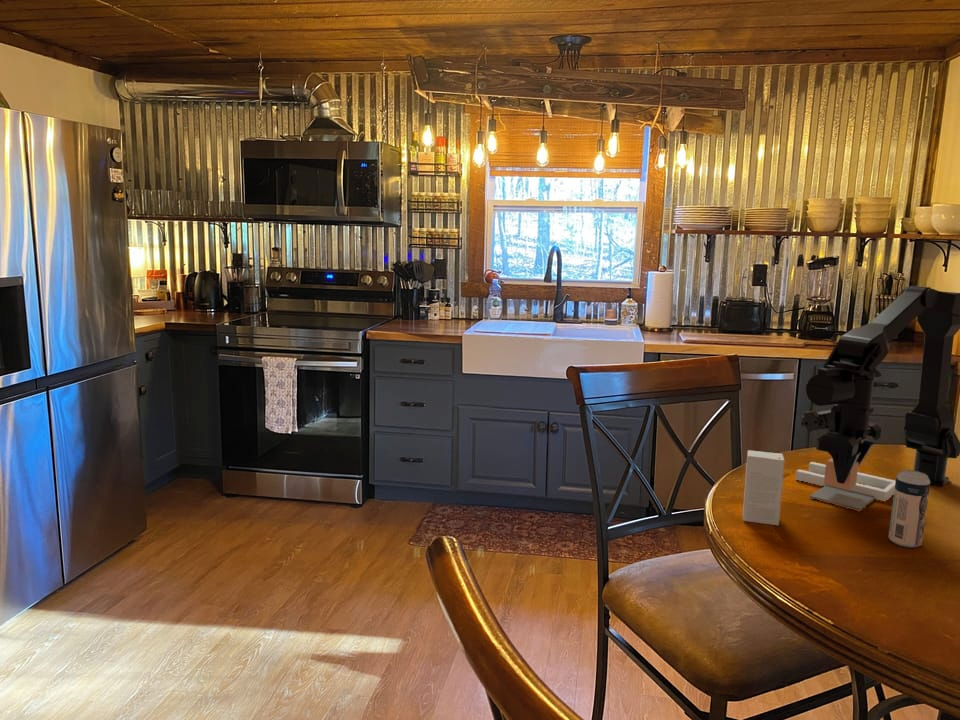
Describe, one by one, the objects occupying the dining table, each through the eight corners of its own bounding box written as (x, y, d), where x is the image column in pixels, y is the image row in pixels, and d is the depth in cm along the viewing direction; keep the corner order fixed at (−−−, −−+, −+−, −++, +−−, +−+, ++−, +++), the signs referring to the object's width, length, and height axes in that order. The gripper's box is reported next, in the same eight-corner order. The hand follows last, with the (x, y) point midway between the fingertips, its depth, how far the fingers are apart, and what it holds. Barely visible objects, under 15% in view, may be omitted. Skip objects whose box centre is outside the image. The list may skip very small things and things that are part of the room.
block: (831, 478, 141) (834, 456, 140) (856, 484, 138) (858, 461, 137) (823, 483, 138) (826, 461, 137) (848, 489, 135) (851, 467, 134)
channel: (810, 470, 155) (811, 461, 154) (897, 490, 143) (898, 481, 143) (795, 480, 148) (796, 470, 148) (884, 502, 137) (886, 492, 136)
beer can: (926, 550, 116) (936, 480, 113) (894, 547, 116) (903, 477, 114) (914, 538, 120) (924, 470, 118) (883, 535, 121) (892, 468, 119)
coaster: (825, 487, 144) (826, 484, 144) (874, 499, 138) (874, 496, 138) (809, 498, 138) (810, 495, 138) (860, 511, 132) (860, 508, 131)
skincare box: (777, 517, 128) (783, 453, 126) (778, 526, 124) (785, 460, 122) (741, 512, 130) (747, 449, 128) (741, 521, 126) (747, 456, 124)
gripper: (826, 387, 147) (818, 460, 149) (791, 400, 133) (783, 480, 136) (886, 396, 139) (876, 472, 142) (856, 412, 126) (846, 496, 128)
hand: (844, 479), depth 137 cm, fingers closed on block, 4 cm apart
